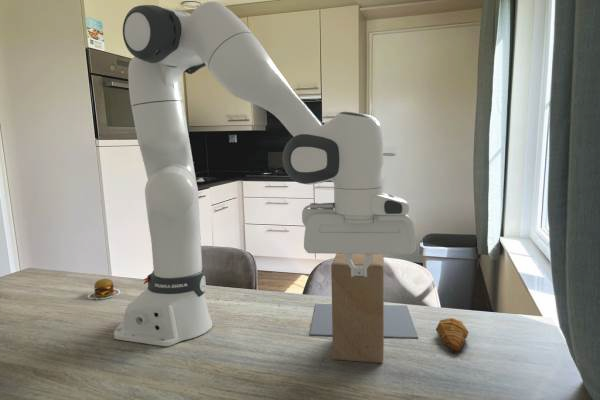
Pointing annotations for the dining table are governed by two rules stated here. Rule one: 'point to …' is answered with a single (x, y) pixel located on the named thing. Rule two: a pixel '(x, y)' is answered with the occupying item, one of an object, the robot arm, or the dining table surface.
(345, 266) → the wooden block
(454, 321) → the croissant
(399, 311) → the felt mat
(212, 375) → the dining table surface
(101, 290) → the hamburger
